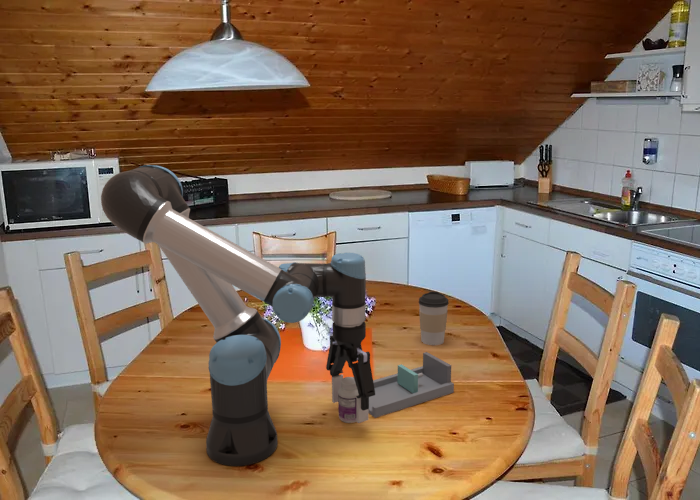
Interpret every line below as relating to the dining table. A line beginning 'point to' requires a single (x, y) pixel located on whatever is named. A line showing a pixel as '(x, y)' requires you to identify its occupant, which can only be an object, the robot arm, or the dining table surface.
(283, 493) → the dining table surface
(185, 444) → the dining table surface
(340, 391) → the pill bottle
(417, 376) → the pusher
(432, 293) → the coffee cup
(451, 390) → the lane
